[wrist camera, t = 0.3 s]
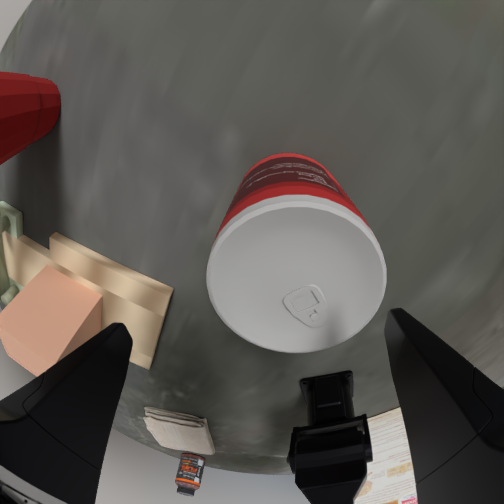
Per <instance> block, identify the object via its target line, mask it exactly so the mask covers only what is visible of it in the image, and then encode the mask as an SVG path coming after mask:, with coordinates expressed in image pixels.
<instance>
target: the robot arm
mask: <svg viewBox="0 0 504 504" xmlns="http://www.w3.org/2000/svg"><path fill="white" fill-rule="evenodd" d="M384 333H385V339H386V344H387V350H388V355H389V361H390V367H391V373H392V377H393V381H394V385H395V389H396V392H397V396H398V400H399V404H400V408H401V412H402V416H403V421H404V425H405V429H406V434H407V439H408V444H409V449H410V454H411V460H412V465H413V471H414V478H415V483H416V493H417V501H418V504H504V389H502V388H501V387H500V386H498V385H497V384H496V383H494V382H493V381H492V380H490V379H489V378H488V377H487V376H486V375H484V374H483V373H482V372H481V371H480V370H478V369H477V368H476V367H474V366H473V365H472V364H471V363H470V362H469V361H468V360H466V359H465V358H464V357H463V356H461V355H460V354H459V353H458V352H457V351H455V350H454V349H453V348H452V347H450V346H449V345H448V344H447V343H446V342H444V341H443V340H442V339H441V338H439V337H438V336H437V335H436V334H434V333H433V332H432V331H430V330H429V329H428V328H427V327H425V326H424V325H423V324H422V323H420V322H419V321H418V320H416V319H415V318H414V317H412V316H411V315H410V314H409V313H407V312H406V311H405V310H403V309H402V308H395V309H390V310H389V311H388V314H387V319H386V324H385V329H384ZM132 347H133V339H132V337H131V335H130V333H129V331H128V330H127V328H126V326H125V324H123V323H120V322H114V323H112V324H110V325H109V326H107V327H106V328H105V329H103V330H102V331H100V332H99V333H97V334H96V335H95V336H93V337H92V338H90V339H89V340H88V341H86V342H85V343H83V344H82V345H81V346H79V347H78V348H76V349H75V350H74V351H72V352H71V353H69V354H68V355H67V356H65V357H64V358H62V359H61V360H60V361H58V362H57V363H56V364H54V365H53V366H51V367H50V368H49V369H47V370H46V372H43V373H42V374H40V375H39V376H38V377H36V378H35V379H33V380H32V381H31V382H29V383H28V384H26V385H25V386H23V387H22V388H20V389H18V390H17V391H15V392H14V393H12V394H10V395H9V396H7V397H6V398H4V399H2V400H1V401H0V504H95V500H96V494H97V489H98V484H99V478H100V474H101V469H102V464H103V460H104V455H105V451H106V447H107V443H108V438H109V435H110V431H111V427H112V424H113V420H114V416H115V413H116V409H117V406H118V402H119V399H120V395H121V392H122V389H123V386H124V382H125V379H126V374H127V370H128V365H129V360H130V356H131V351H132ZM300 382H301V387H302V390H303V394H304V397H305V400H306V403H307V414H308V426H303V427H293V433H292V435H291V443H290V450H289V453H288V456H287V463H288V464H289V465H290V467H291V470H292V473H293V474H295V483H296V485H297V486H298V488H299V489H300V490H301V491H302V493H303V494H304V495H305V497H306V498H307V499H308V501H309V502H310V503H311V504H354V502H355V499H356V498H357V496H358V494H359V493H360V491H361V489H362V487H363V486H364V484H365V482H366V480H367V463H369V462H373V453H372V444H371V438H370V432H369V426H368V421H367V416H366V414H362V415H361V416H357V417H355V415H354V408H353V401H352V397H353V372H352V371H345V372H340V373H335V374H330V375H324V376H318V377H312V378H306V379H302V380H301V381H300Z"/></svg>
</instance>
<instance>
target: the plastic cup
mask: <svg viewBox="0 0 504 504" xmlns="http://www.w3.org/2000/svg"><path fill="white" fill-rule="evenodd" d="M60 107H61V103H60V93H59V91H58V88H57V86H56V85H55V84H54V83H53V82H52V81H50V80H48V79H45V78H39V77H32V76H29V75H26V74H18V73H9V72H0V165H1V164H2V163H4V162H5V161H7V160H8V159H10V158H11V157H13V156H14V155H16V154H17V153H19V152H20V151H22V150H23V149H25V148H26V147H27V146H28V145H30V144H32V143H33V142H35V141H37V140H39V139H41V138H42V137H44V136H45V135H46V134H48V133H49V132H50V131H51V129H52V128H53V127H54V126H55V123H56V121H57V119H58V117H59V112H60Z"/></svg>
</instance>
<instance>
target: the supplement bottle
mask: <svg viewBox="0 0 504 504" xmlns="http://www.w3.org/2000/svg"><path fill="white" fill-rule="evenodd" d="M204 464H205V459H204V458H203V457H201V456H198V455H195V454H190V453H184V454H182V456H181V459H180V463H179V468H178V471H177V475H176V480H175V483H176V484H177V485H178V488H177V493H180V494H183V495H187V496H194V491H195V490H197V489H199V487H200V483H201V478H202V474H203V469H204Z"/></svg>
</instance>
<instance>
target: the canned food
mask: <svg viewBox="0 0 504 504" xmlns="http://www.w3.org/2000/svg"><path fill="white" fill-rule="evenodd" d="M385 287H386V265H385V261H384V257H383V253H382V251H381V249H380V245H379V243H378V241H377V239H376V238H375V236H374V234H373V232H372V230H371V229H370V227H369V226H368V224H367V222H366V221H365V219H364V218H363V216H362V215H361V213H360V212H359V211H358V209H357V208H356V206H355V205H354V204H353V202H352V201H351V200H350V198H349V197H348V196H347V194H346V193H345V192H344V190H343V189H342V188H341V186H340V185H339V184H338V182H337V181H336V180H335V179H334V177H333V176H332V175H331V174H330V172H329V171H328V170H327V169H326V168H325V167H324V166H322V165H321V164H319V163H318V162H317V161H315V160H313V159H311V158H309V157H306V156H304V155H299V154H294V153H281V154H277V155H272V156H269V157H267V158H265V159H263V160H261V161H259V162H258V163H257V164H255V165H254V166H253V167H252V168H251V169H250V170H249V171H248V172H247V173H246V175H245V177H244V178H243V180H242V182H241V184H240V186H239V188H238V190H237V192H236V194H235V196H234V199H233V201H232V203H231V205H230V207H229V209H228V211H227V213H226V216H225V218H224V220H223V222H222V224H221V226H220V229H219V231H218V233H217V236H216V239H215V241H214V243H213V246H212V249H211V253H210V257H209V261H208V267H207V288H208V293H209V297H210V300H211V302H212V304H213V306H214V308H215V310H216V312H217V314H218V315H219V316H220V318H221V319H222V320H223V322H224V323H225V324H226V325H227V326H228V327H229V328H230V329H231V330H233V331H234V332H235V333H236V334H237V335H239V336H240V337H242V338H244V339H245V340H247V341H248V342H251V343H253V344H255V345H257V346H260V347H262V348H266V349H269V350H273V351H278V352H286V353H308V352H314V351H320V350H323V349H327V348H330V347H333V346H336V345H338V344H340V343H342V342H344V341H346V340H348V339H349V338H351V337H352V336H354V335H355V334H356V333H358V332H359V331H360V330H361V329H362V328H363V327H364V326H365V325H366V324H367V323H368V322H369V321H370V320H371V319H372V317H373V316H374V314H375V313H376V312H377V310H378V308H379V306H380V304H381V301H382V299H383V297H384V292H385Z"/></svg>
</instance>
